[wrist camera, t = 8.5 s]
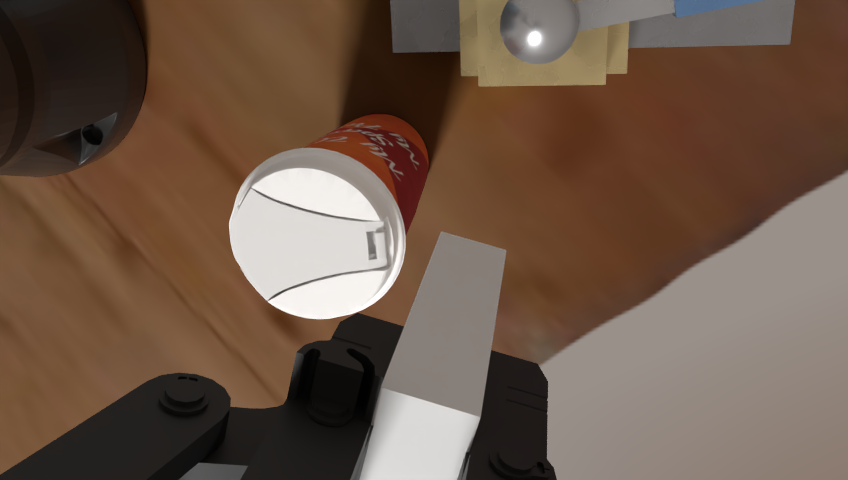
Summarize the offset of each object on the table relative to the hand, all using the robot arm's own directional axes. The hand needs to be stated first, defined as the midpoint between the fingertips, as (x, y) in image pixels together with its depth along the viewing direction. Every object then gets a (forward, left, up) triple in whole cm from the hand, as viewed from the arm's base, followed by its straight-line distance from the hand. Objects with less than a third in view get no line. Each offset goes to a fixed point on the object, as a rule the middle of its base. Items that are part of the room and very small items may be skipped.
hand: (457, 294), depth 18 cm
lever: (+5, +5, -19) cm, 21 cm away
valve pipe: (+3, +4, -30) cm, 31 cm away
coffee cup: (-9, -5, -31) cm, 32 cm away
